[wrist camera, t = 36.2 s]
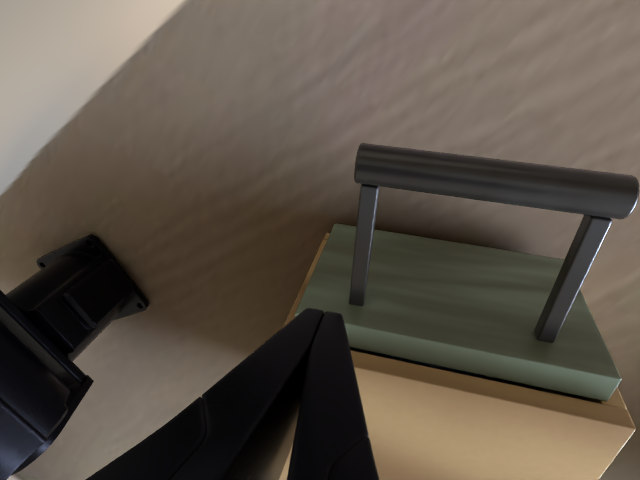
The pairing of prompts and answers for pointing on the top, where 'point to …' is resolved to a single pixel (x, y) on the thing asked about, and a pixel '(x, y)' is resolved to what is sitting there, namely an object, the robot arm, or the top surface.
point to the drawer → (474, 274)
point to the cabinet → (478, 424)
